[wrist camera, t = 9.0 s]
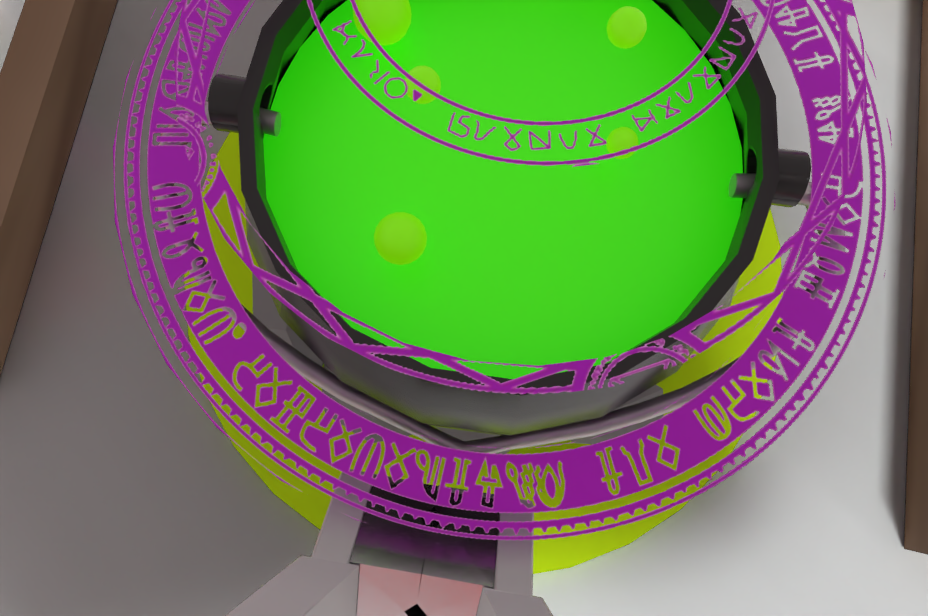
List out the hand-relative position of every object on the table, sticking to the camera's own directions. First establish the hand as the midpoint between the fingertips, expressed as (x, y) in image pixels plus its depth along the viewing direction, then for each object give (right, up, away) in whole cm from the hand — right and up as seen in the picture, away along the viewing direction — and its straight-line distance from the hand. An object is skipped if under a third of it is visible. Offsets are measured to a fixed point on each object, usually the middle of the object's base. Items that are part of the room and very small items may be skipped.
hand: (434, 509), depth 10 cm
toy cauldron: (+1, +4, +7) cm, 8 cm away
